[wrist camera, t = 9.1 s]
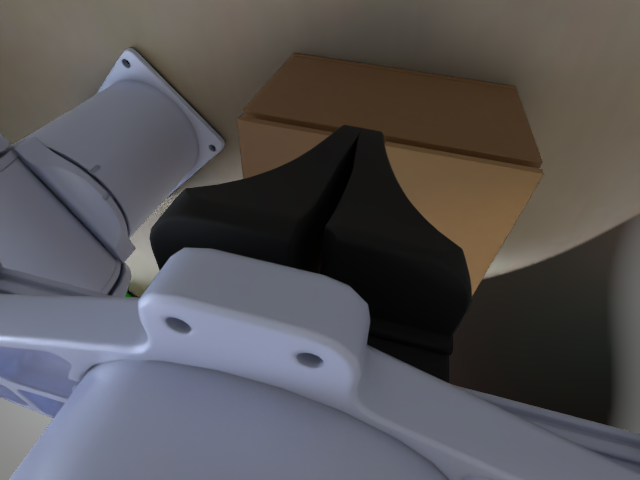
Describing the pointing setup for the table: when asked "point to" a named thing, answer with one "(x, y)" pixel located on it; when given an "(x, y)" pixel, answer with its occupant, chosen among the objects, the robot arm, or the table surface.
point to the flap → (465, 198)
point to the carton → (381, 113)
